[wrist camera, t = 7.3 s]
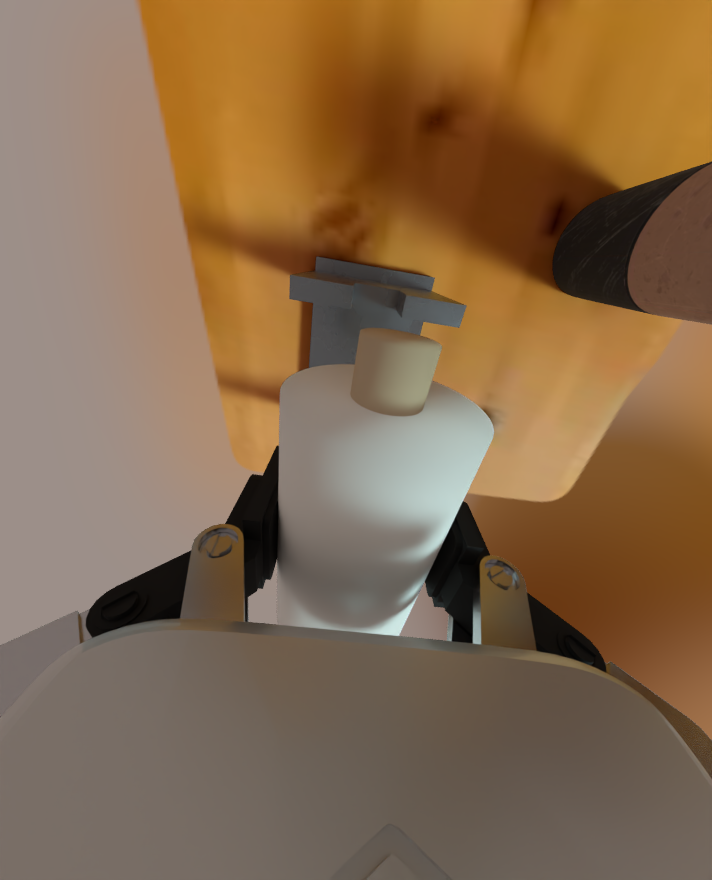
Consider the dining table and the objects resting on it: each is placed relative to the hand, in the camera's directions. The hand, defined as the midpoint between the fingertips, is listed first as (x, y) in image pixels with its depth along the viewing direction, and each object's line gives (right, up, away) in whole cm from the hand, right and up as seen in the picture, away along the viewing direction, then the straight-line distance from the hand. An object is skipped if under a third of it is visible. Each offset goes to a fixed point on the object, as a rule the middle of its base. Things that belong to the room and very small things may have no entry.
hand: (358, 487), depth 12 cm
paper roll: (0, 0, +1) cm, 1 cm away
